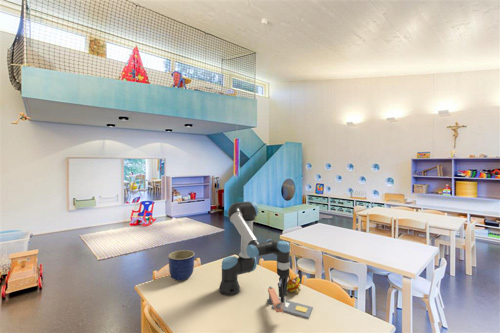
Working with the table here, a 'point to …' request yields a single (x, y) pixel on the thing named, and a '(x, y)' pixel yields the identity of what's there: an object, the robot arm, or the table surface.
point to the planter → (181, 264)
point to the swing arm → (275, 299)
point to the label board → (297, 309)
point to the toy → (293, 284)
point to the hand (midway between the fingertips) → (282, 306)
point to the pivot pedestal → (269, 302)
